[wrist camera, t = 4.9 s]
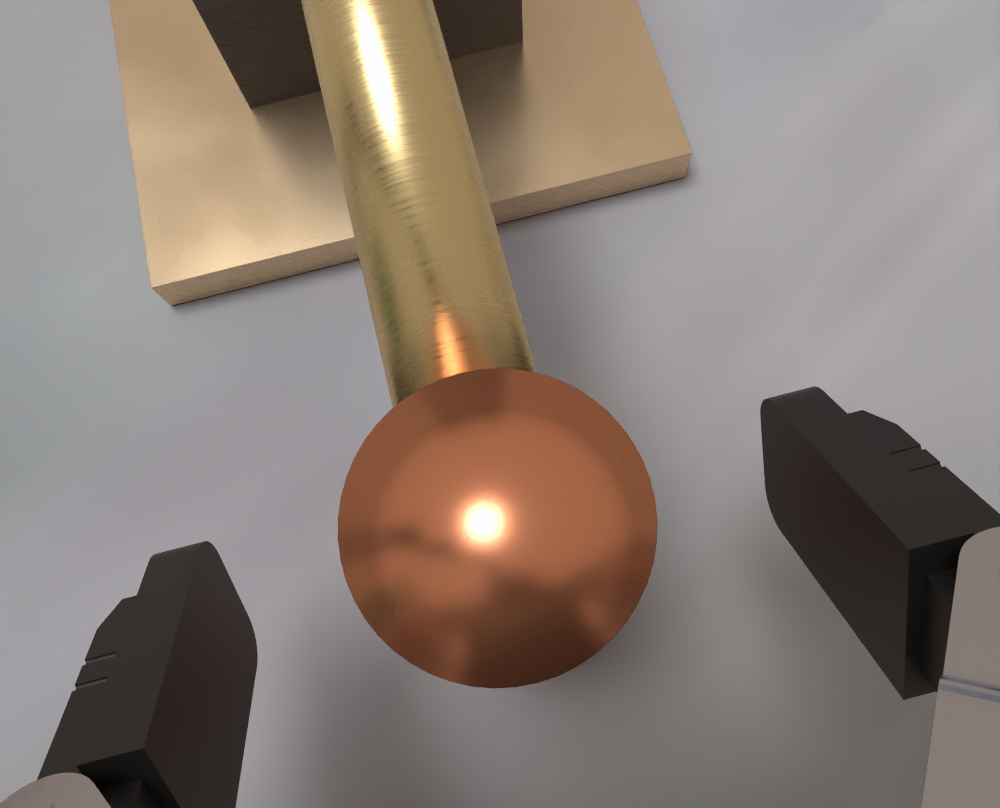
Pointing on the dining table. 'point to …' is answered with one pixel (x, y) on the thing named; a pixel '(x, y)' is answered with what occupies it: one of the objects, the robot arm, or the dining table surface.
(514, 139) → the slotted upright stand
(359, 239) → the copper and brass hammer
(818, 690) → the dining table surface
